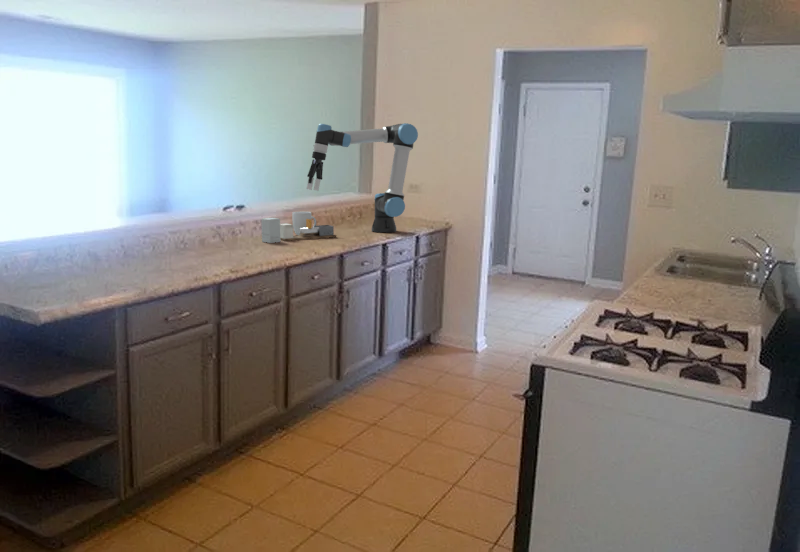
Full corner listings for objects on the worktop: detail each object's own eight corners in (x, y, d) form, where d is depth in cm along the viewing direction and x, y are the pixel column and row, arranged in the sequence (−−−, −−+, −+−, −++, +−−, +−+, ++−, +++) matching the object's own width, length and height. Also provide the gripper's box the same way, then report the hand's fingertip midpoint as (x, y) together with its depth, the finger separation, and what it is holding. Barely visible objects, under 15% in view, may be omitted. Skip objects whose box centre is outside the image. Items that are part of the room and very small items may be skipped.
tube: (326, 233, 387) (326, 217, 386) (330, 234, 384) (330, 218, 382) (298, 235, 377) (298, 219, 376) (301, 236, 374) (301, 220, 372)
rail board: (328, 235, 391) (328, 233, 391) (336, 237, 384) (336, 235, 383) (277, 239, 373) (277, 237, 373) (284, 241, 366) (284, 239, 366)
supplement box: (281, 242, 363) (280, 218, 360) (269, 243, 358) (269, 219, 355) (272, 240, 368) (272, 217, 365) (261, 241, 363) (260, 218, 360)
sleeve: (327, 233, 389) (327, 224, 388) (333, 235, 384) (333, 226, 383) (314, 234, 384) (314, 225, 383) (319, 236, 379) (319, 227, 378)
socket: (287, 236, 375) (287, 223, 374) (293, 238, 369) (293, 224, 368) (278, 237, 372) (278, 223, 371) (284, 238, 366) (284, 225, 365)
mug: (311, 232, 402) (310, 210, 399) (321, 234, 393) (320, 212, 391) (289, 234, 392) (288, 212, 390) (298, 236, 384) (298, 213, 382)
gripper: (319, 153, 388) (312, 189, 390) (306, 148, 363) (299, 187, 366) (331, 155, 387) (324, 192, 389) (320, 151, 362) (312, 190, 365)
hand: (312, 189), depth 378 cm, fingers open, 13 cm apart
